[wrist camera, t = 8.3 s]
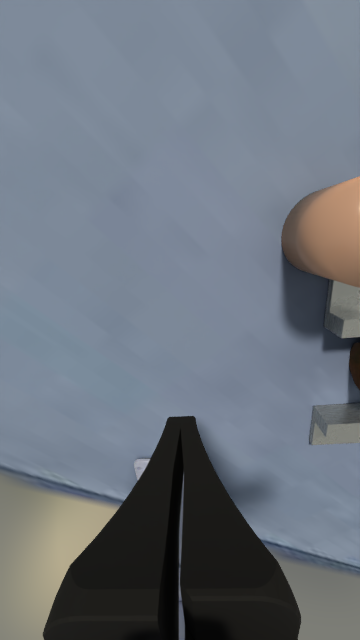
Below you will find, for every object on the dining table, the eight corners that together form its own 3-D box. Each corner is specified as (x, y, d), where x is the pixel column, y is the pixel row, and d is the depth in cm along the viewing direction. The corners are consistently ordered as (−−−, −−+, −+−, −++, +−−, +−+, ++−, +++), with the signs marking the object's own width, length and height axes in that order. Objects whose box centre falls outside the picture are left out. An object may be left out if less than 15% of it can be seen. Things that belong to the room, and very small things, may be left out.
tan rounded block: (355, 269, 19) (428, 283, 13) (279, 275, 19) (318, 292, 13) (369, 184, 17) (462, 158, 11) (283, 193, 17) (332, 172, 11)
